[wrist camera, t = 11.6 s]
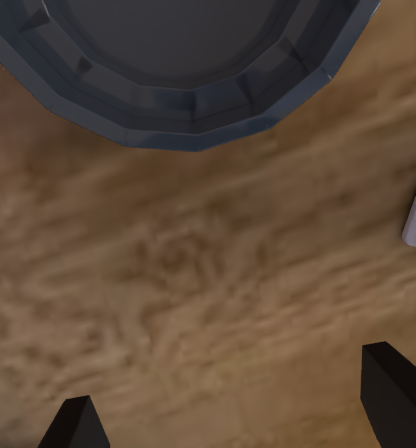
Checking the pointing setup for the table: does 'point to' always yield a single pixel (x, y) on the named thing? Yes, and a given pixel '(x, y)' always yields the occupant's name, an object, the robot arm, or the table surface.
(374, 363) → the robot arm
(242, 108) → the dark blue round dish
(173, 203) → the table surface
